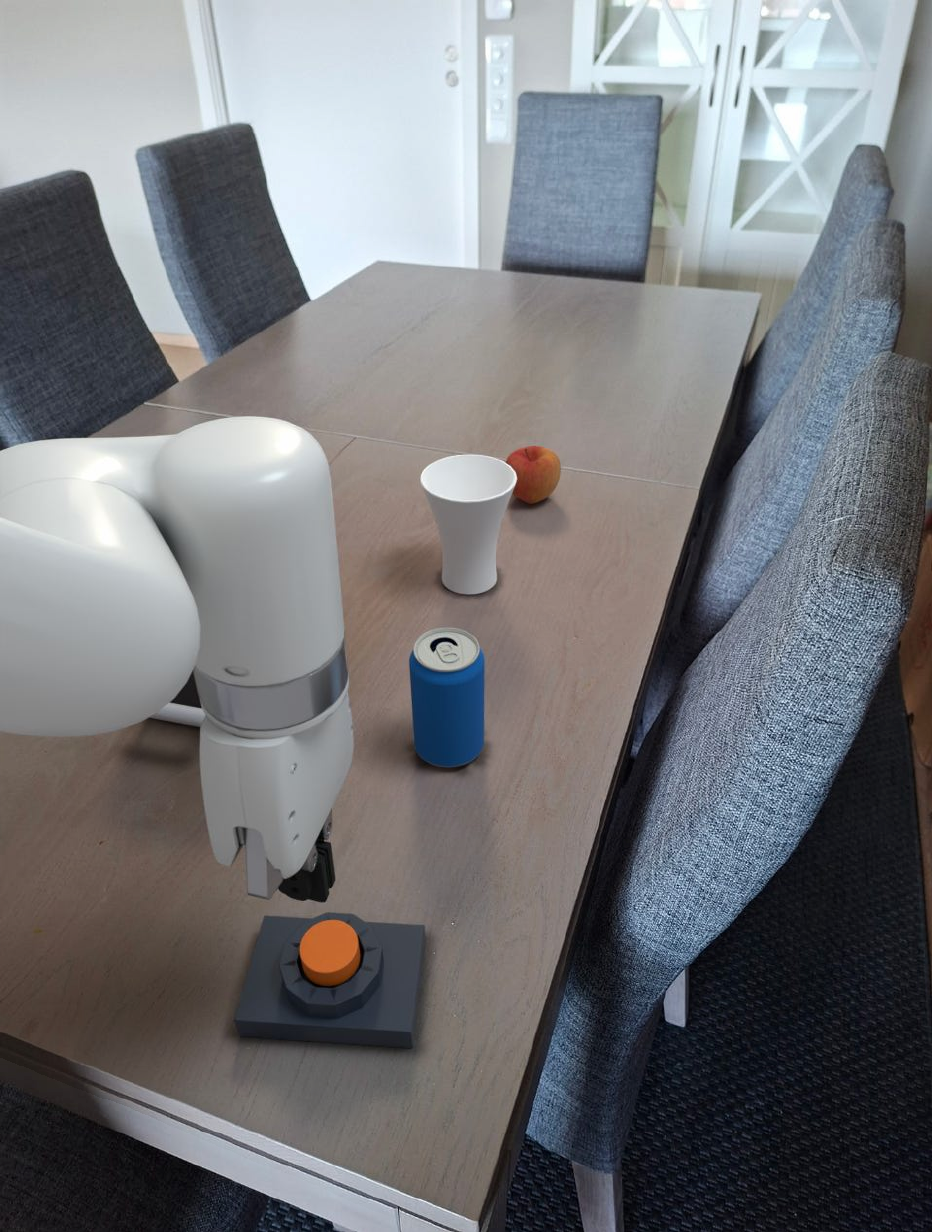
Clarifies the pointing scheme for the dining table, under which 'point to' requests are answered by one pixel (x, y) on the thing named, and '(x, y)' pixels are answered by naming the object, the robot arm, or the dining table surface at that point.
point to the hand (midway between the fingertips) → (307, 887)
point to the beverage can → (447, 697)
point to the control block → (344, 1013)
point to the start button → (330, 952)
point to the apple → (534, 472)
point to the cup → (468, 516)
